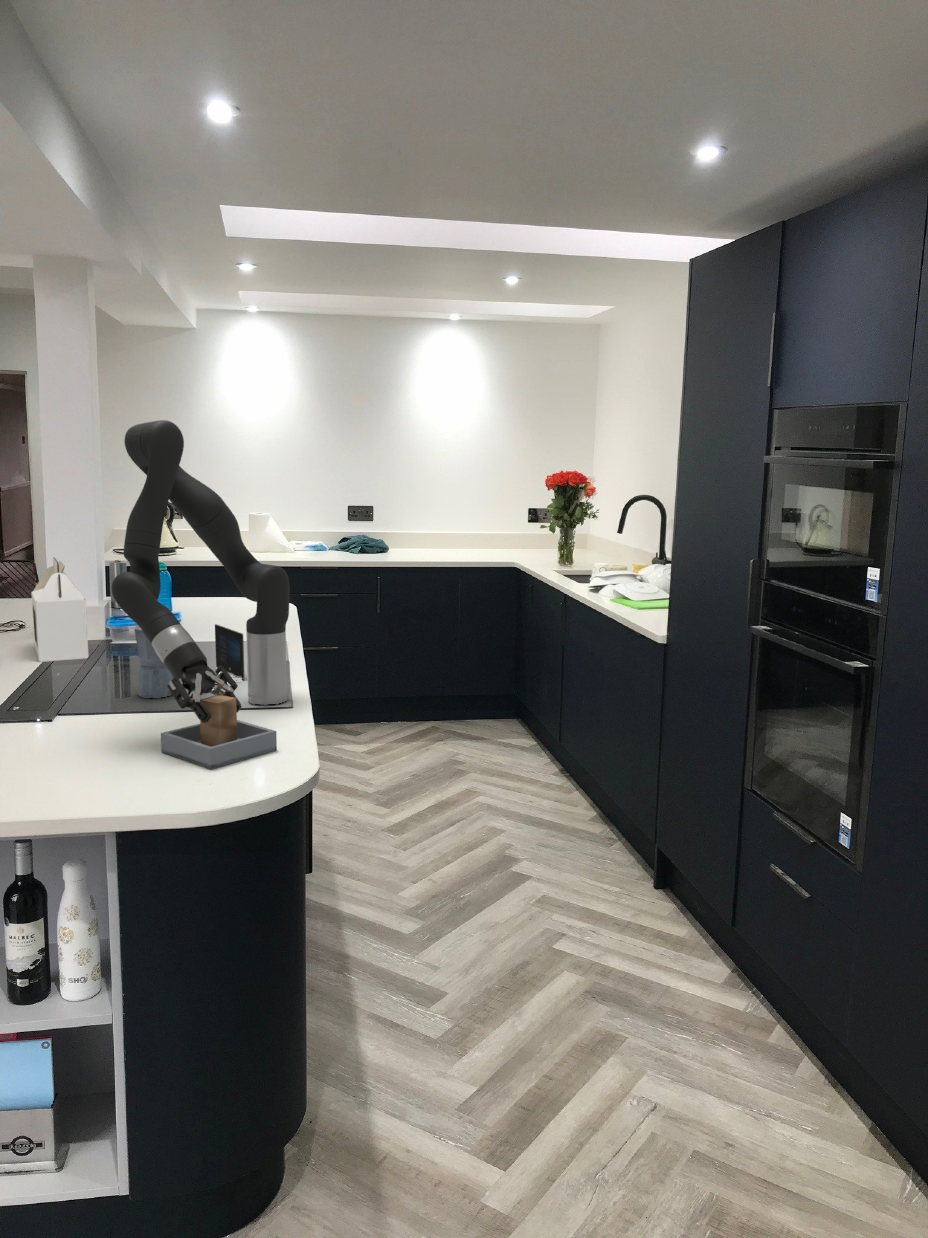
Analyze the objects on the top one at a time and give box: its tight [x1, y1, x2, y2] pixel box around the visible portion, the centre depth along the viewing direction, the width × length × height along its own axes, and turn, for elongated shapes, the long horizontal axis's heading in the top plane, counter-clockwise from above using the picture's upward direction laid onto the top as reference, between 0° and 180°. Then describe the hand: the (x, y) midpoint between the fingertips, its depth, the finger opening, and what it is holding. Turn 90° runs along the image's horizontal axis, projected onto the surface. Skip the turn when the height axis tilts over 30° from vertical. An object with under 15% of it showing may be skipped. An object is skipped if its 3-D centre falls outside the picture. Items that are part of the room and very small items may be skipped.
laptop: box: [212, 623, 246, 684], centre depth 252 cm, size 18×12×13 cm
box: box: [160, 719, 278, 770], centre depth 189 cm, size 16×16×4 cm
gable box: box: [30, 557, 89, 663], centre depth 279 cm, size 22×13×28 cm, turn 27°
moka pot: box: [134, 624, 173, 699], centre depth 233 cm, size 10×15×20 cm, turn 39°
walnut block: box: [199, 695, 238, 747], centre depth 189 cm, size 5×5×10 cm
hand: (223, 715), depth 188 cm, fingers open, 8 cm apart
